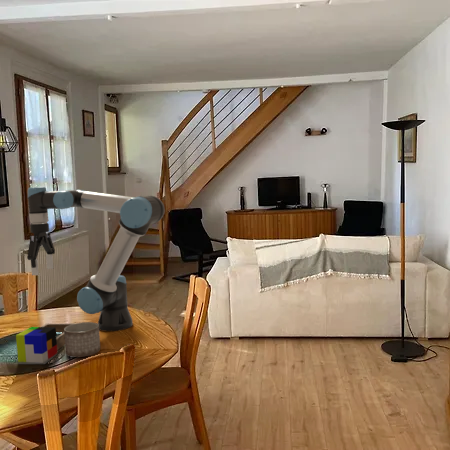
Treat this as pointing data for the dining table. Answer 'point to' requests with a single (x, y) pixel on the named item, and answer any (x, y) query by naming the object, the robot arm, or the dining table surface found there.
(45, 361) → the mat
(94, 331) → the planter
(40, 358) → the puzzle toy
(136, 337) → the dining table surface
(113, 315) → the robot arm
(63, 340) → the pocket frame
